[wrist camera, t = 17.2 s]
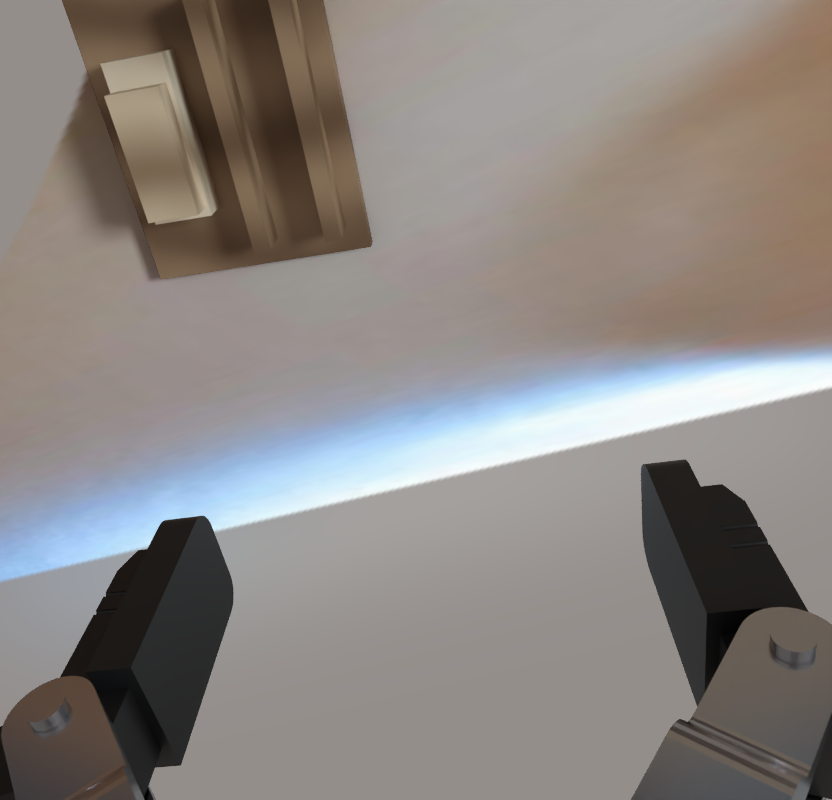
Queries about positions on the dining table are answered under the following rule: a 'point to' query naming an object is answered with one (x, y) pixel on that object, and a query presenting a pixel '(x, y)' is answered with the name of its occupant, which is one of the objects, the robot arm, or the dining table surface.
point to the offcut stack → (159, 137)
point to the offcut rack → (243, 125)
